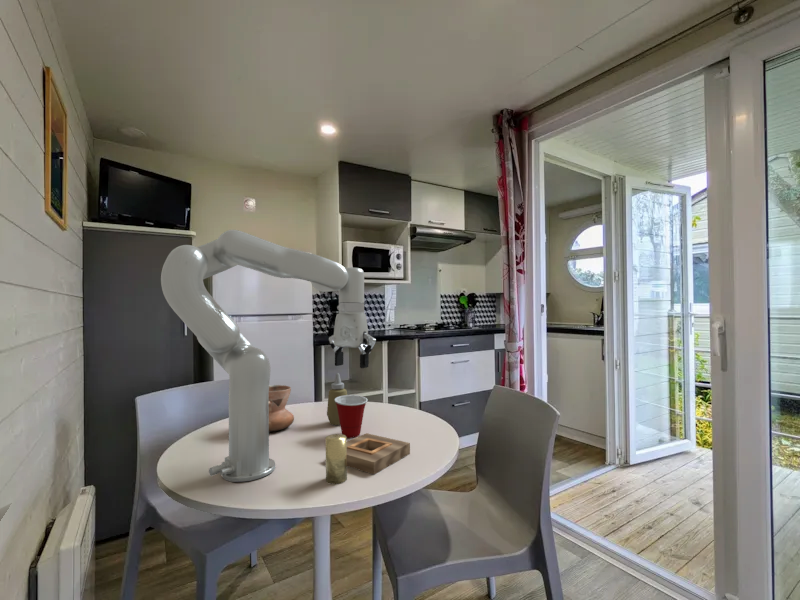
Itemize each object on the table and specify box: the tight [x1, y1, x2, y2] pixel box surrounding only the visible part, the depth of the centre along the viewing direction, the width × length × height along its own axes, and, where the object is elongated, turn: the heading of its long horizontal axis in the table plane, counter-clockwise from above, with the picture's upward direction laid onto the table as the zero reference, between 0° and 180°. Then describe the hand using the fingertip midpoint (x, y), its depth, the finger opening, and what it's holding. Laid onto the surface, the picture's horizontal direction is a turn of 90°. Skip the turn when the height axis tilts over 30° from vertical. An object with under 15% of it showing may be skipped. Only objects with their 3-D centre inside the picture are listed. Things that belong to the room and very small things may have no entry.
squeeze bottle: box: [326, 372, 348, 426], centre depth 135 cm, size 8×8×18 cm
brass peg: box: [324, 433, 348, 485], centre depth 90 cm, size 5×5×10 cm
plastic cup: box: [335, 394, 369, 439], centre depth 122 cm, size 11×11×12 cm
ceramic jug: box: [269, 384, 295, 433], centre depth 131 cm, size 18×14×14 cm
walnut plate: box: [346, 432, 411, 475], centre depth 103 cm, size 16×16×3 cm
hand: (351, 366), depth 111 cm, fingers open, 9 cm apart
